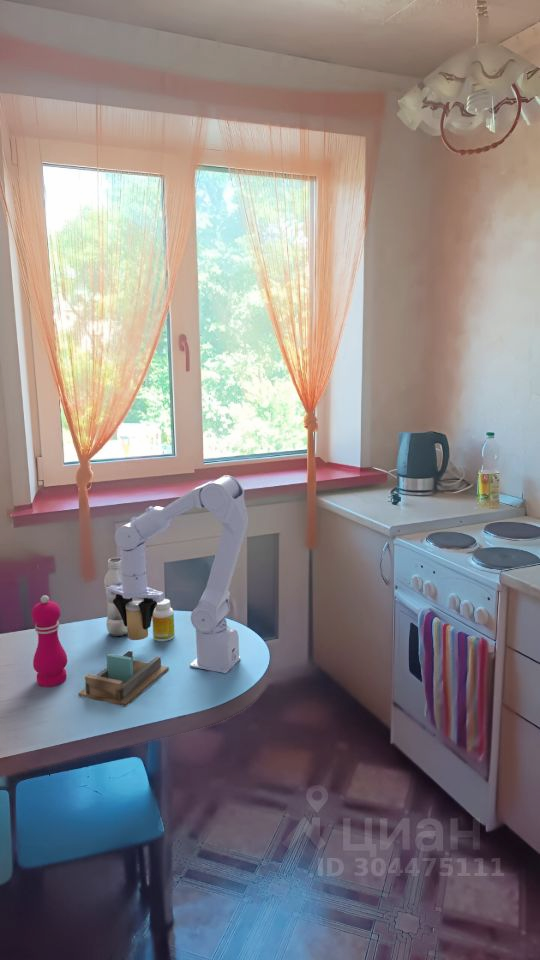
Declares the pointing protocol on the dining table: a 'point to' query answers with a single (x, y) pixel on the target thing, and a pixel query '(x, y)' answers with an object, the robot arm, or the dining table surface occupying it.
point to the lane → (119, 691)
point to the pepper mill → (48, 644)
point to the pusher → (119, 667)
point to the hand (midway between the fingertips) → (137, 626)
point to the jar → (135, 621)
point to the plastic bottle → (114, 617)
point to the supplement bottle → (163, 621)
